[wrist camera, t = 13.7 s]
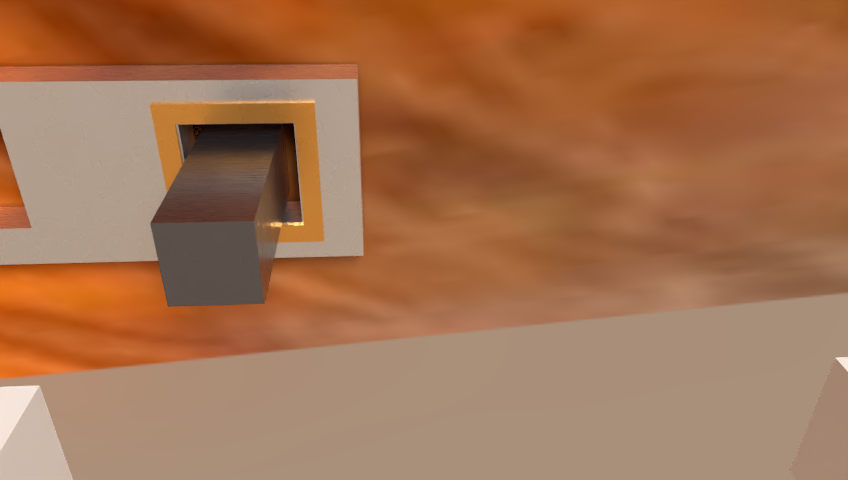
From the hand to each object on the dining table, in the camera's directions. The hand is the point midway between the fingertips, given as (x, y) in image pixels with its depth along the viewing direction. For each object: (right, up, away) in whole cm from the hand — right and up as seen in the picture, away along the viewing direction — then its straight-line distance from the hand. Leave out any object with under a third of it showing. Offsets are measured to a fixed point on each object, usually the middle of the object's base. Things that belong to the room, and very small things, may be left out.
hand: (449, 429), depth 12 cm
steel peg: (-10, +8, +26) cm, 29 cm away
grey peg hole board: (-17, +8, +25) cm, 31 cm away
